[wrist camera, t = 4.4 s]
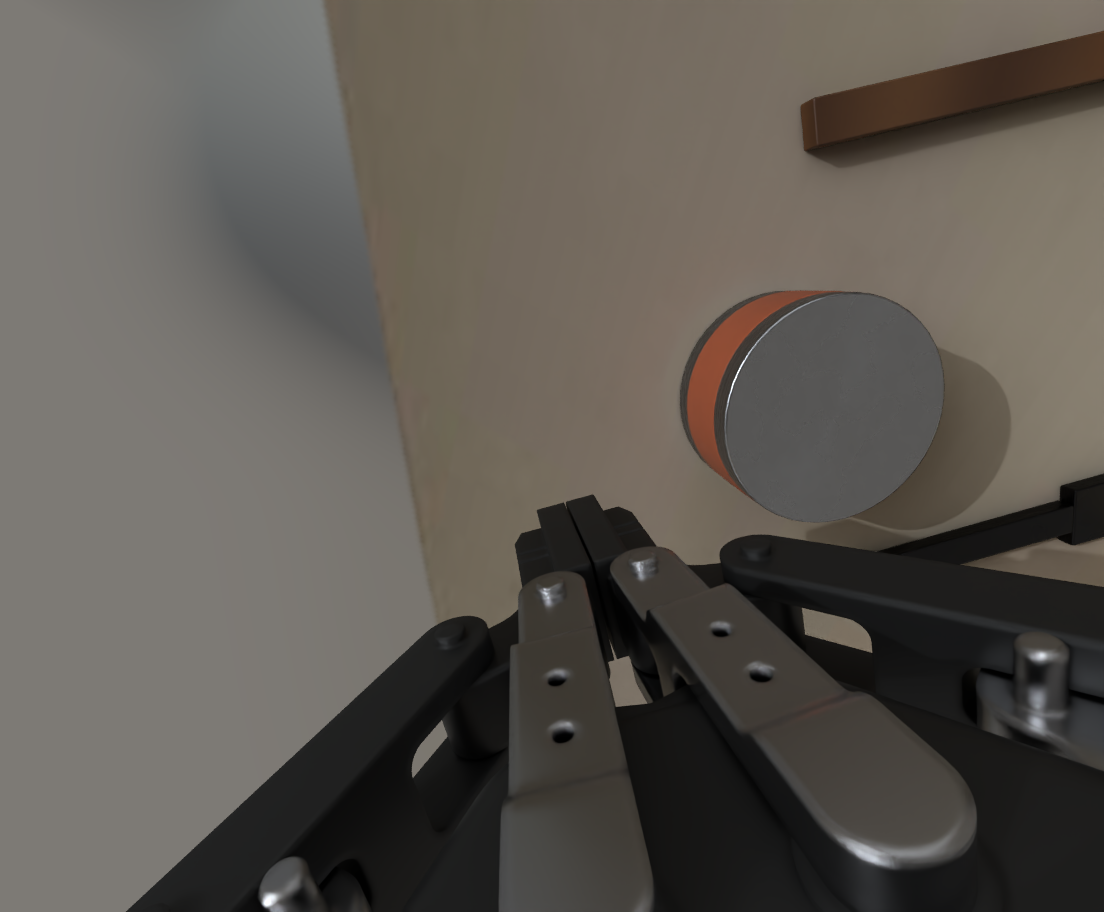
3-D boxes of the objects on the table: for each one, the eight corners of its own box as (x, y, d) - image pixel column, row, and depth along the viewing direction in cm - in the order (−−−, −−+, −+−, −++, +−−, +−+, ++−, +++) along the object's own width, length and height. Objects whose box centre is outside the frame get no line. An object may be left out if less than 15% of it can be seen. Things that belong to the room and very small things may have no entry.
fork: (841, 601, 25) (852, 610, 24) (837, 547, 24) (848, 555, 23) (1185, 502, 26) (1204, 508, 25) (1191, 448, 25) (1211, 452, 24)
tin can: (663, 317, 20) (708, 325, 16) (857, 269, 21) (944, 265, 17) (694, 504, 22) (740, 549, 19) (868, 457, 23) (948, 491, 19)
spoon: (807, 199, 20) (826, 194, 19) (795, 52, 18) (814, 38, 17) (1220, 100, 21) (1260, 89, 20) (1237, -47, 19) (1281, -66, 18)
